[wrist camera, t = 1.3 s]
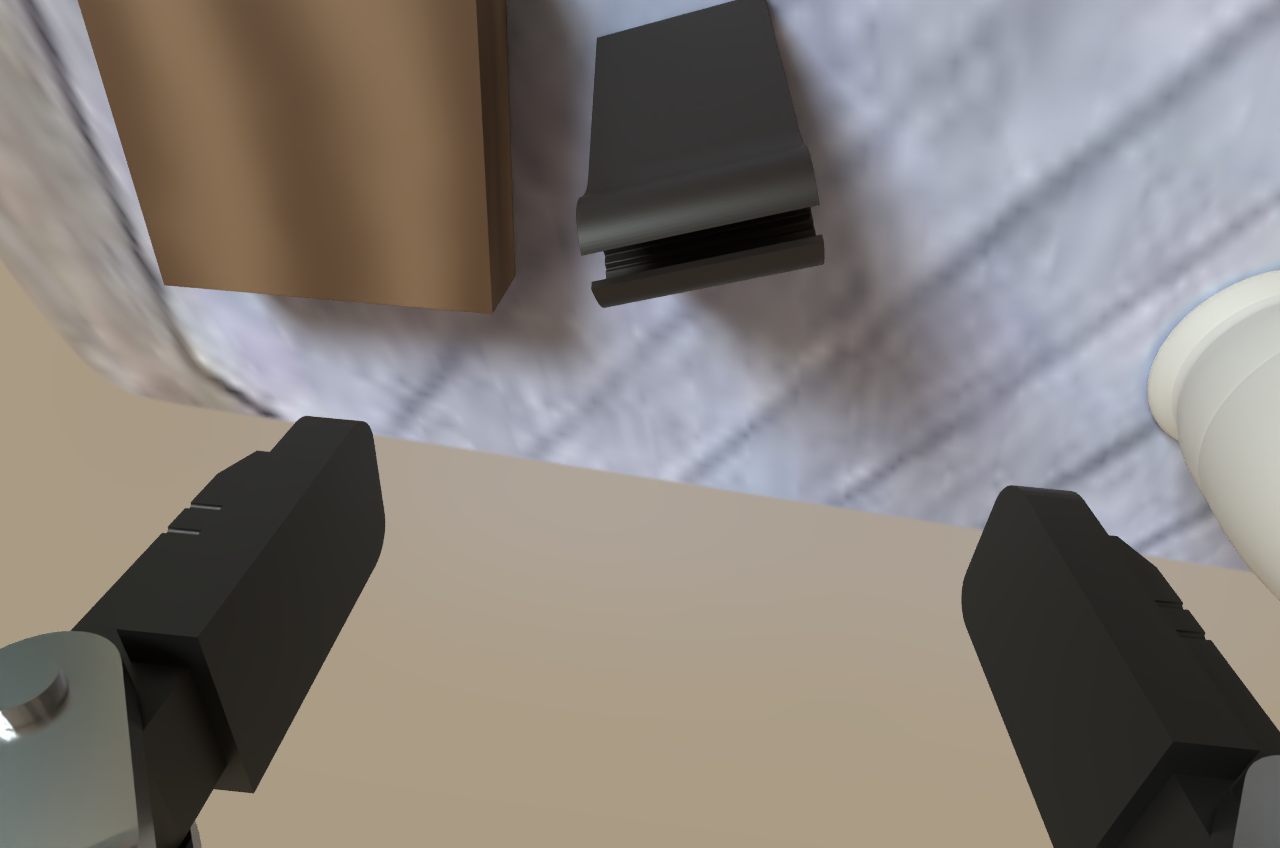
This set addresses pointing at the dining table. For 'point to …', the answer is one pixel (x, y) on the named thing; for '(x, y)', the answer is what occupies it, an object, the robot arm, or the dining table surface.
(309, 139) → the walnut plinth
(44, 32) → the dining table surface
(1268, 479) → the jar
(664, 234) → the phone stand
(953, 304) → the dining table surface
